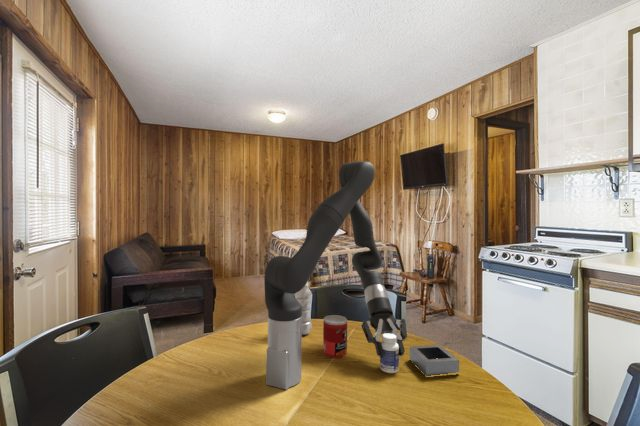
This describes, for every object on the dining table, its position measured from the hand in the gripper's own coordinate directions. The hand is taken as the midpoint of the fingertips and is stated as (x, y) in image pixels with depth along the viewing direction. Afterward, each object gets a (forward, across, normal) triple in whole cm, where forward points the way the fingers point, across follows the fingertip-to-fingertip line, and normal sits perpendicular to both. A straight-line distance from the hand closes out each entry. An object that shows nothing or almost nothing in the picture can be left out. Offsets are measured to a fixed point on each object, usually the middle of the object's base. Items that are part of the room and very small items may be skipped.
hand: (391, 355), depth 85 cm
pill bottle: (+2, 0, +5) cm, 5 cm away
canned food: (-7, -14, +14) cm, 20 cm away
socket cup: (+3, +13, +4) cm, 14 cm away
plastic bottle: (-18, -22, +25) cm, 39 cm away
